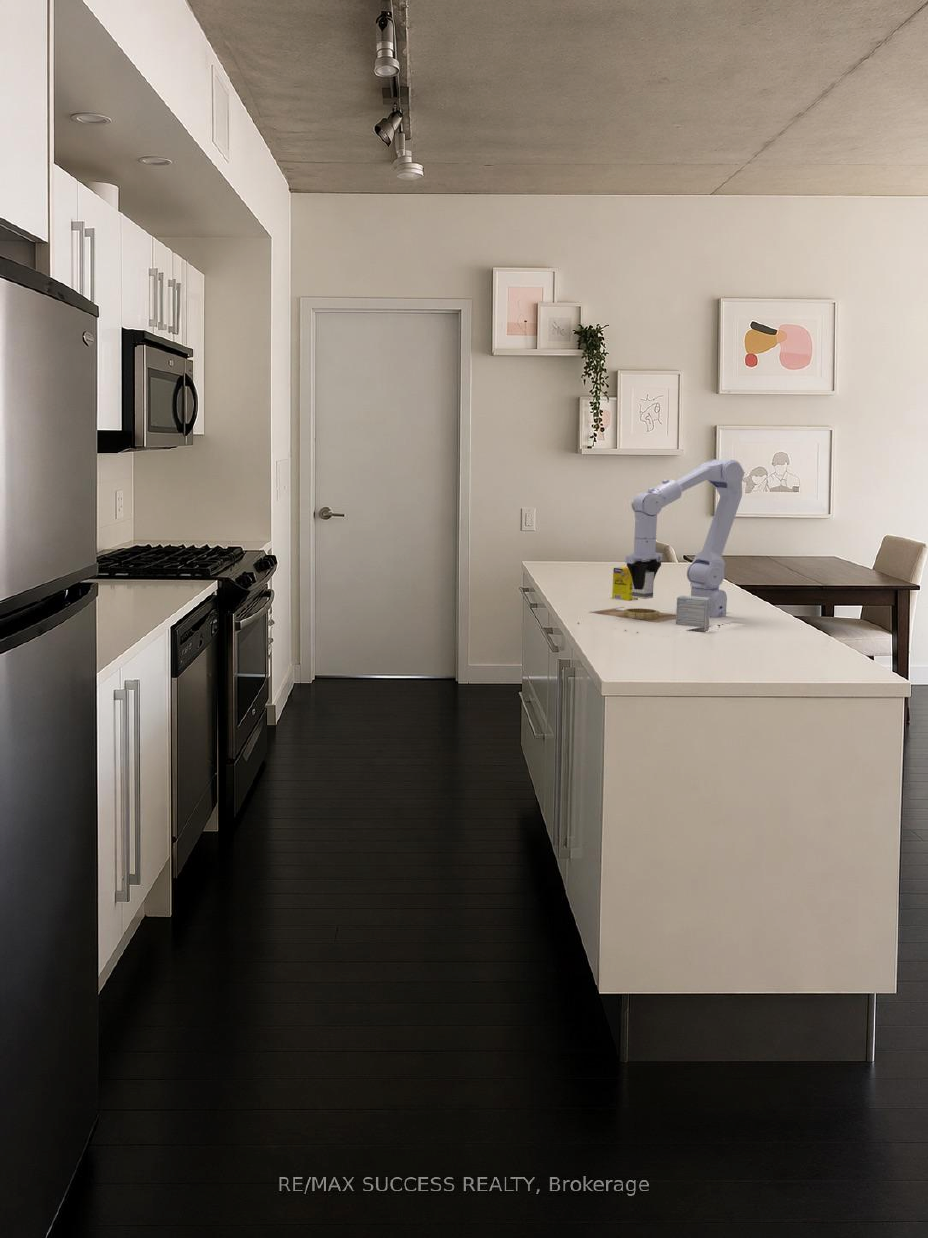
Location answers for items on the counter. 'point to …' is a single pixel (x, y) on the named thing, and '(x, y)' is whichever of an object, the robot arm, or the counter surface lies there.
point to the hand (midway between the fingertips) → (642, 588)
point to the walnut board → (621, 614)
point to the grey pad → (623, 609)
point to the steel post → (645, 587)
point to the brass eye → (641, 613)
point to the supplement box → (622, 584)
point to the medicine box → (693, 612)
